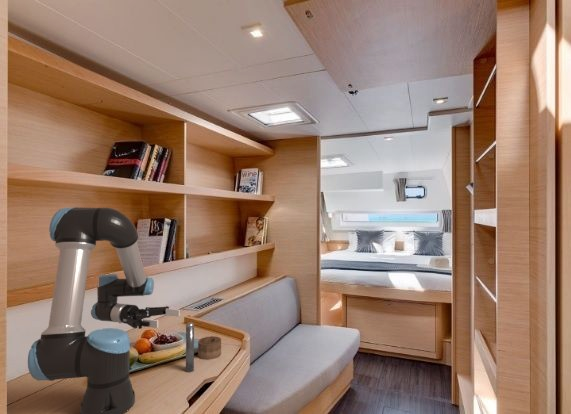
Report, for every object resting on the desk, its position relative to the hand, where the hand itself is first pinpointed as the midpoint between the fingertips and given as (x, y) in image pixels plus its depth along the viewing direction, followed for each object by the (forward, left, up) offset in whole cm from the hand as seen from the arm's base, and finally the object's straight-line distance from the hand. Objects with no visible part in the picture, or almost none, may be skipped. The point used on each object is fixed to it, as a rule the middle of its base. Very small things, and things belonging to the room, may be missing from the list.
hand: (169, 318), depth 129 cm
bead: (+14, -10, -19) cm, 26 cm away
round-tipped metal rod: (-1, -10, -19) cm, 21 cm away
